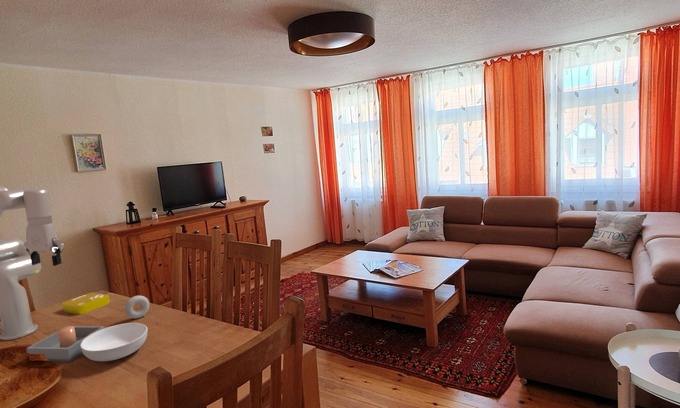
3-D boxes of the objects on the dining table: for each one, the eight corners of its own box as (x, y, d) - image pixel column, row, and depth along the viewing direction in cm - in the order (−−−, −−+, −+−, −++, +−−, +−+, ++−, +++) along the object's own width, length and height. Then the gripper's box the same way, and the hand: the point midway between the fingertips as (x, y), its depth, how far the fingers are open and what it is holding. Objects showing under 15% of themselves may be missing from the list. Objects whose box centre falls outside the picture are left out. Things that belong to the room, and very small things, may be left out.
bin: (29, 361, 139) (26, 348, 138) (69, 338, 155) (66, 326, 154) (70, 362, 136) (67, 348, 135) (106, 338, 152) (104, 326, 152)
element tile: (92, 300, 199) (91, 291, 198) (111, 303, 192) (110, 293, 191) (61, 311, 185) (59, 302, 185) (80, 315, 179) (79, 305, 178)
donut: (128, 323, 166) (124, 300, 164) (125, 320, 168) (121, 298, 167) (152, 314, 173) (149, 293, 171) (149, 312, 175) (146, 291, 174)
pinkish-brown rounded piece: (57, 350, 143) (53, 332, 142) (68, 343, 148) (65, 326, 147) (69, 350, 142) (65, 332, 141) (80, 343, 147) (77, 326, 146)
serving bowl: (103, 376, 126) (99, 356, 125) (72, 361, 137) (68, 342, 136) (161, 345, 143) (159, 328, 142) (129, 335, 154) (127, 318, 153)
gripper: (11, 223, 146) (18, 266, 149) (50, 223, 143) (57, 268, 146) (30, 219, 154) (37, 260, 156) (67, 219, 150) (74, 262, 153)
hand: (46, 264), depth 151 cm, fingers open, 9 cm apart
